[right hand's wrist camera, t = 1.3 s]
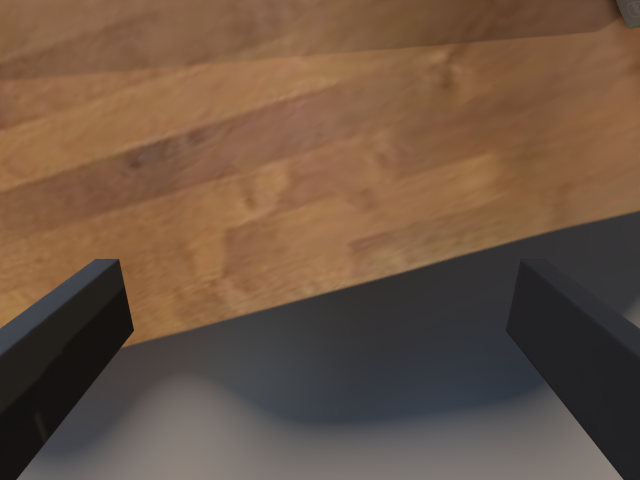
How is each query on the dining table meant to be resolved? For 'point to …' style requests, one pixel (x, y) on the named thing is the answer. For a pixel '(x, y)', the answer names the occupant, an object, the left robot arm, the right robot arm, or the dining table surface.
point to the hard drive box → (630, 12)
